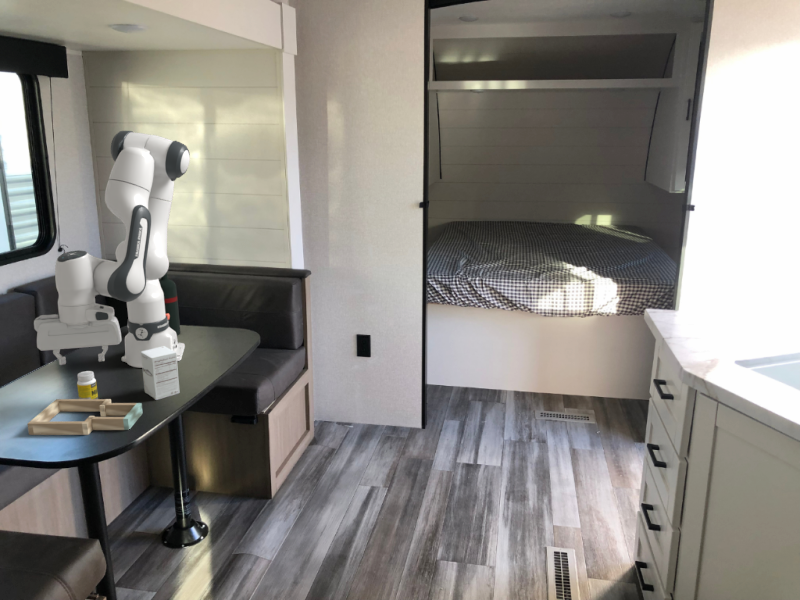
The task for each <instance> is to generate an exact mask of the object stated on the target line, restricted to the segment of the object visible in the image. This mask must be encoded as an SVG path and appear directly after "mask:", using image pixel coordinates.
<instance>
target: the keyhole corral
mask: <svg viewBox="0 0 800 600" xmlns="http://www.w3.org/2000/svg"><path fill="white" fill-rule="evenodd" d="M61 412H100V413H99V414H100V416H95V415H89V416H88V417H87V418H86V419H85V420H84V421H83V420H82V421H69V420H68V421H65V420H62V421H55V420H54V421H53V420H52V419H54V418H55V416H58V414H59V413H61ZM142 415H143V403H142V402H112V399H111V398H104V399H103V398H101V399H100V398H98V399H79V398H73V399H72V398H61V399H60V398H56V399H54V400H53V401H51V403H50V404H49V405H47V407H45V408H44V409H43V410H42V411H40V413H38V414H37V415H36V416H35V417H34V418H32V419H31V420H29V422H27V430H28V436H41V435H42V436H51V435H52V436H62V435H64V436H65V435H66V436H75V435H76V436H77V435H81V436H82V435H84V436H89V435H90V434H91V432H92V431H130V430H131V428H132V427H133V426H134V425H135V424H136V422H137V421H138V420H139V419H140V418H141V416H142ZM129 429H130V430H129Z"/></svg>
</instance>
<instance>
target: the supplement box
mask: <svg viewBox="0 0 800 600" xmlns="http://www.w3.org/2000/svg"><path fill="white" fill-rule="evenodd" d="M141 359H142V379H143V389H144V393H145V394H147V395H149V397H152V398H153V399H154V400H156V401H157V400H161V399H165V398H168V397H172V396H175V395H179V394H180V393H181V392H180V382H179V380H180V379H179V370H178V361H177V355H176V352H174V351H173V350H171V349H169V348H167V347H165V346H162V347H158V348H154V349H150V350H146V351H142V352H141Z"/></svg>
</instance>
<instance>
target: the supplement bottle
mask: <svg viewBox="0 0 800 600" xmlns="http://www.w3.org/2000/svg"><path fill="white" fill-rule="evenodd" d="M76 387H77V393H78V394H77V395H78V399H99V394H98V386H97V379H96V378H95V373H94V371H92V370H86V371H80V372H79V373H77V382H76Z"/></svg>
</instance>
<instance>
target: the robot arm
mask: <svg viewBox="0 0 800 600" xmlns="http://www.w3.org/2000/svg"><path fill="white" fill-rule="evenodd" d="M110 143H111V144H110V154H111V155H110V156H111V158H112V160H113V162H114V163H113V166H112V168H111V171H110V173H109V177H108V179H107V180H108V181H107V184H106V187H105V191H104V203H105V205H106V207H107V209H108V210H109V211H110V213H112V215H114V216H115V217H116V218H117V219H119V220H120V221H121V222H122V223H123V225H124V228H125V239H124V240H122V241H121V242H120V243H119V244H118V245H117V247H116V249H115V258H116V261H114V260H108V259H104V258H100V257H96V256H94V255H92V254H90V253H89V252H87V251H86V250H80V249H79V250H72V251H71V250H70V251H67V252H64V253H62V254H60V255H59V256H57V259H56V261H55V268H54V274H55V275H54V277H55V287H56V290H57V292H58V298H57V309H58V313H57V314H56V313H55V314H42V315H39V316H37V317H36V318H35V319H34V320H33V329H34V330H35V331H36V347H37V349H38V350H39V351H52V353H53V355H54V356H55V358H57V360H58V365H60V366H63V365H66V363H67V360H66V357H67V356H63V355H62V354H60V351H61V350H66V349H78V348H79V349H81V348H89V347H90V348H92V347H101V349H102V352H101V353H98V354H97V358H98V360H97V361H98V362H105V356H106V354H107V352H108V349H109V346H115V345H116V346H117V345H120V343H121V342H122V332H121V328H120V323H119V320H118V318H117V317H116V316H115V309H114V307H113V306H109V305H105V304H100V303H96V298H95V297H96V296H98V295H99V296H100V295H101V296H103V297H109V298H113V299H116V300H119V301H121V302H126V308H127V317H128V319H127V320H126V321H127V324H126V325H127V326H126V327H127V331H128V333H127V334H126V335H125V337H124V351H125V353H124V355H123V356H122V357H121V361H122V362H125V363H127V365H129V366H131V367H133V368H142V359H141V352H142V351H146V350H150V349H154V348H158V347H162V346H165V347H167V348H169V349H171V350H173V351H174V352H176V355H177V362H180V361H181V360H182V357H183V354H184V351H185V348H186V345H185V343H184V342H178V335H177V334H176V332H175V331H174V330H173V329H171V328H170V327H169V323H168V322H169V321H168V320H169V318H170V317H169V316H170V315H169V313H168V314H165V303H164V293H163V290H162V288H161V286H160V283H159V280H160V279H161V277H163V276H164V275H165V274H166V272H167V273H168V271H169V268H170V267H169V266H170V261H169V256H168V229H169V228H168V225H169V219H170V213H171V208H172V203H173V198H174V191H175V181H176V180H177V179H178V178H179V179H180V178H181V177H182V176H183V175H185V174H186V172H187V171H188V169H189V166H190V163H191V162H190V161H191V160H190V159H191V155H190V150H189V148H188V146H187V145H186V144H184V143H182V142H180V141H177V140H173V139H168V138H167V137H163V136H160V135H157V134H148V133H142V132H134V131H132V130H121V131H118V132H117V133H116V134H115V135H114V136H113V137H112V139H111V142H110Z"/></svg>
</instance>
